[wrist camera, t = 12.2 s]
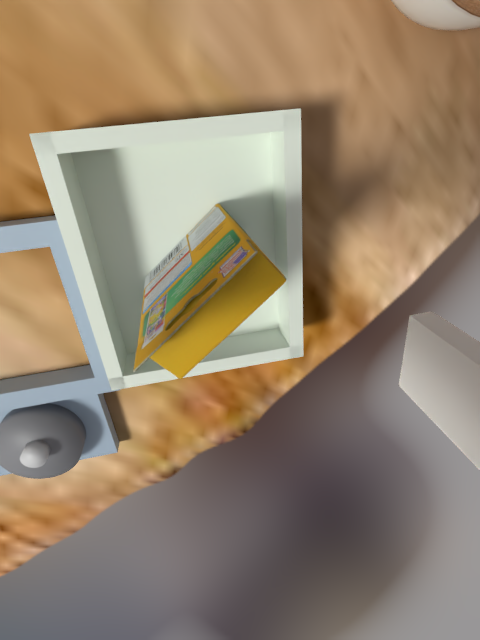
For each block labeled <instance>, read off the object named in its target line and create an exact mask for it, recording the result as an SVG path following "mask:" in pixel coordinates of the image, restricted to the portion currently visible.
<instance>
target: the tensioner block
mask: <svg viewBox="0 0 480 640" xmlns="http://www.w3.org/2000/svg"><path fill="white" fill-rule="evenodd" d="M42 247H50V248H51V251H52V254H53V257H54V260H55V263H56V266H57V269H58V271H59V274H60V277H61V280H62V283H63V286H64V289H65V292H66V295H67V298H68V301H69V304H70V307H71V310H72V312H73V315H74V318H75V321H76V324H77V327H78V330H79V333H80V336H81V339H82V342H83V345H84V348H85V350H86V353H87V356H88V359H89V362H90V365H86V366H80V367H74V368H68V369H62V370H56V371H50V372H44V373H38V374H33V375H27V376H21V377H15V378H9V379H3V380H0V476H1V475H6V474H11V473H13V474H16V475H19V476H22V477H27V478H38V479H41V478H50V477H55V476H58V475H61V474H63V473H65V472H67V471H69V470H70V469H71V468H73V467H74V466H75V465H76V464H77V462H78V461H79V460H82V459H87V458H92V457H97V456H102V455H107V454H112V453H117V452H118V447H119V440H118V437H117V434H116V431H115V428H114V425H113V422H112V419H111V416H110V413H109V410H108V407H107V404H106V401H105V398H104V395H103V393H107V392H112V391H118V390H120V389H118V390H111V387H110V384H109V381H108V378H107V375H106V371H105V368H104V365H103V362H102V359H101V356H100V353H99V350H98V347H97V344H96V340H95V337H94V334H93V331H92V328H91V325H90V322H89V319H88V316H87V312H86V309H85V306H84V303H83V300H82V297H81V294H80V291H79V288H78V284H77V281H76V278H75V275H74V272H73V269H72V266H71V263H70V260H69V256H68V253H67V250H66V247H65V244H64V241H63V238H62V235H61V232H60V228H59V225H58V222H57V219H56V216H55V215H54V216H45V217H37V218H29V219H21V220H12V221H4V222H0V253H4V252H11V251H19V250H27V249H34V248H42Z"/></svg>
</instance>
